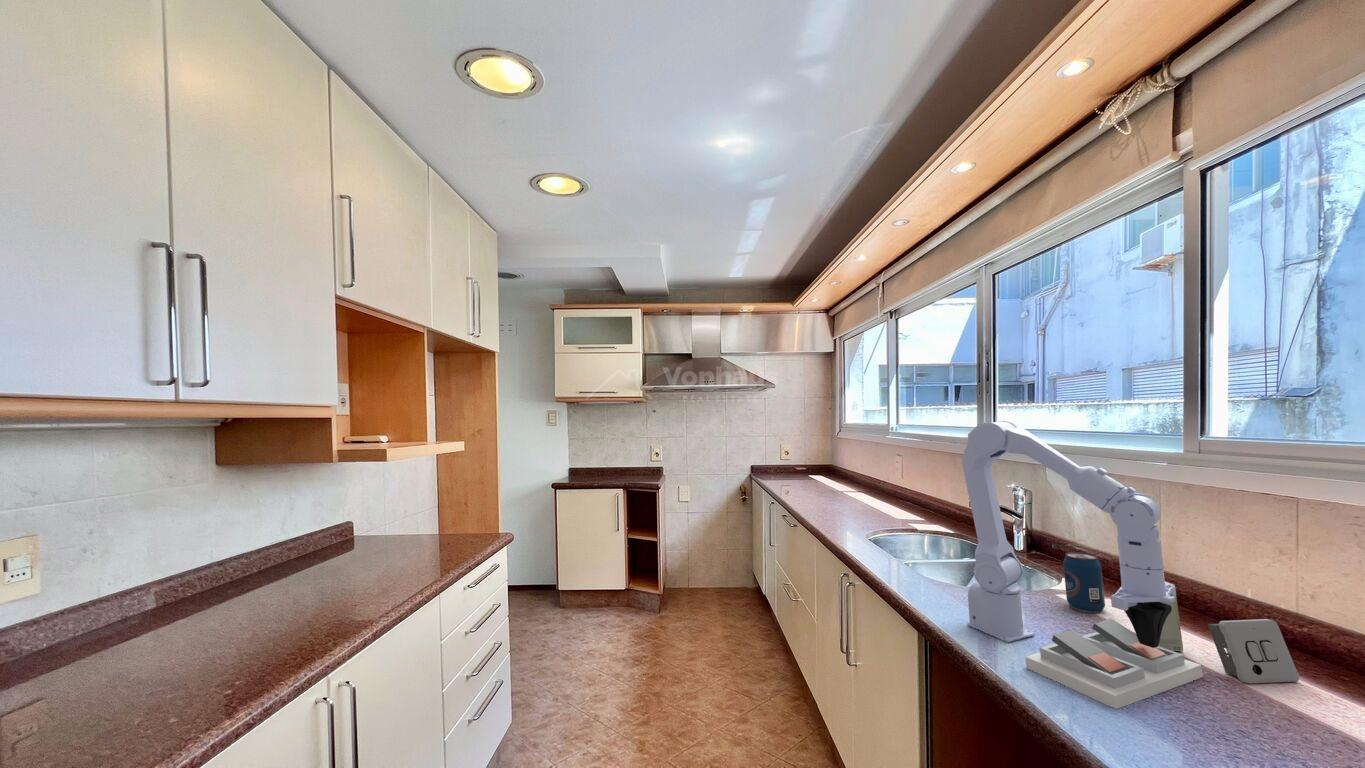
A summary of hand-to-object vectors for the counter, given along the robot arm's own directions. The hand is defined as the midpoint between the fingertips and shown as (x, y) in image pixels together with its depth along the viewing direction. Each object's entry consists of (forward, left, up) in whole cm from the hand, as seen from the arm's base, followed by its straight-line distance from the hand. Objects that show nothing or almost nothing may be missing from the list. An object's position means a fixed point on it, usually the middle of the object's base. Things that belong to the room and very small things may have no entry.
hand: (1148, 644), depth 87 cm
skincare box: (-6, +14, -5) cm, 16 cm away
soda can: (-23, +21, -5) cm, 31 cm away
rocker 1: (-3, -11, -1) cm, 11 cm away
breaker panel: (-3, -5, -5) cm, 8 cm away
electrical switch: (+7, +14, -5) cm, 16 cm away
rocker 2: (-3, 0, -1) cm, 3 cm away
